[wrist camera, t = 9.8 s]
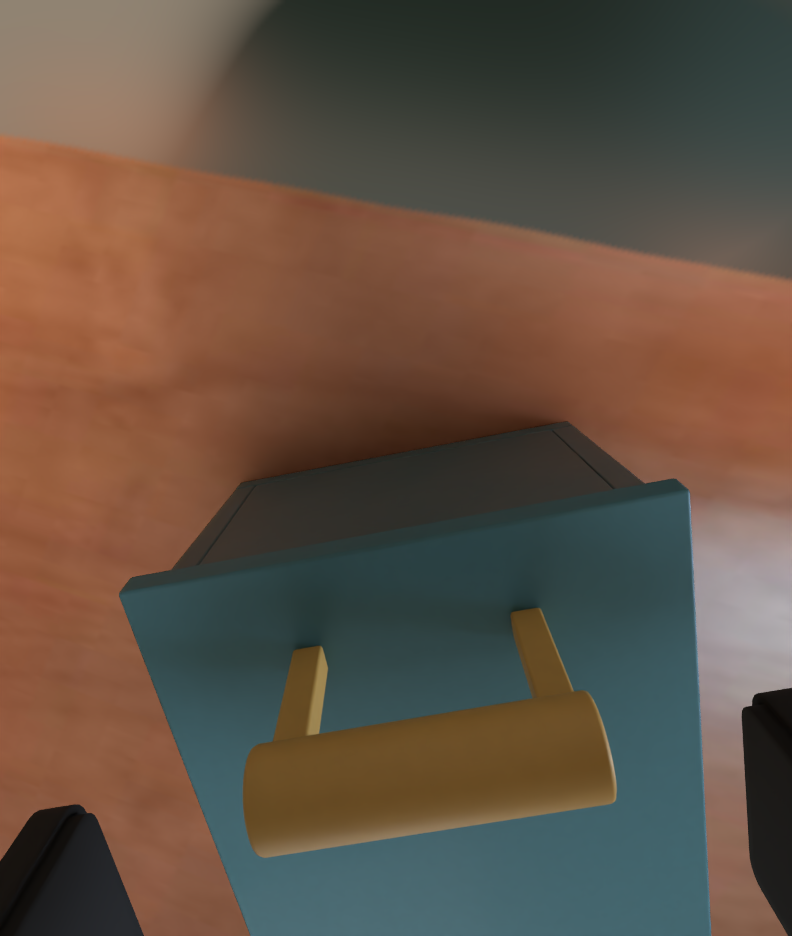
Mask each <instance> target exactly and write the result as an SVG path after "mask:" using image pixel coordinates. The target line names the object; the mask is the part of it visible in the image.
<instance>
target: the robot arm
mask: <svg viewBox="0 0 792 936" xmlns="http://www.w3.org/2000/svg"><path fill="white" fill-rule="evenodd" d="M742 729H743V747H744V764H745V782H746V800H747V817H748V835H749V853H750V861H751V865H752V869H753V872H754V875H755V878H756V880H757V882H758V884H759V886H760V888H761V890H762V892H763V894H764V895H765V897H766V899H767V900H768V902H769V904H770V905H771V907H772V909H773V911H774V912H775V914H776V916H777V917H778V919H779V921H780V922H781V924H782V926H783V928H784V929H785V931H786V933H787V934H788V936H792V688H788V689H782V690H776V691H770V692H764V693H758V694H756V695H754V697H753V700H752V706H749V707H745V708H743V710H742ZM0 936H144V935H143V932H142V930H141V927H140V925H139V922H138V920H137V917H136V915H135V912H134V910H133V907H132V905H131V902H130V900H129V897H128V895H127V892H126V890H125V887H124V885H123V882H122V880H121V877H120V875H119V872H118V870H117V867H116V865H115V862H114V860H113V857H112V855H111V852H110V850H109V847H108V845H107V842H106V840H105V837H104V835H103V832H102V830H101V828H100V825H99V823H98V820H97V818H96V817H95V815H93V814H92V813H87V812H86V811H85V809H84V808H83V807H82V806H80V805H69V806H62V807H56V808H50V809H44V810H39V811H37V812H35V813H34V814H33V815H32V816H31V817H30V818H29V820H28V821H27V823H26V824H25V826H24V827H23V829H22V830H21V832H20V833H19V835H18V836H17V837H16V839H15V840H14V842H13V843H12V845H11V846H10V848H9V849H8V851H7V852H6V854H5V855H4V857H3V858H2V860H1V861H0Z"/></svg>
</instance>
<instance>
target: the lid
mask: <svg viewBox="0 0 792 936" xmlns="http://www.w3.org/2000/svg"><path fill="white" fill-rule="evenodd" d="M119 597H120V600H121V602H122V605H123V607H124V610H125V613H126V615H127V618H128V620H129V623H130V625H131V628H132V631H133V633H134V636H135V638H136V641H137V644H138V646H139V649H140V651H141V654H142V656H143V659H144V662H145V664H146V667H147V669H148V672H149V675H150V677H151V680H152V682H153V685H154V688H155V690H156V693H157V695H158V698H159V700H160V703H161V706H162V708H163V711H164V713H165V716H166V719H167V721H168V724H169V726H170V729H171V731H172V734H173V737H174V739H175V742H176V744H177V747H178V750H179V752H180V755H181V757H182V760H183V762H184V765H185V768H186V770H187V773H188V775H189V778H190V781H191V783H192V786H193V788H194V791H195V793H196V796H197V799H198V801H199V804H200V806H201V809H202V812H203V814H204V817H205V819H206V822H207V824H208V827H209V830H210V832H211V835H212V837H213V840H214V843H215V845H216V848H217V850H218V853H219V856H220V858H221V861H222V863H223V866H224V868H225V871H226V874H227V876H228V879H229V881H230V884H231V887H232V889H233V892H234V894H235V897H236V899H237V902H238V905H239V907H240V910H241V912H242V915H243V918H244V920H245V923H246V925H247V928H248V930H249V933H250V936H711V922H710V901H709V880H708V860H707V839H706V818H705V798H704V777H703V756H702V735H701V715H700V694H699V673H698V653H697V632H696V611H695V591H694V570H693V549H692V528H691V508H690V492H689V490H688V489H687V488H686V487H685V486H684V485H682V484H681V483H680V482H679V481H678V480H677V479H668V480H662V481H657V482H652V483H646V484H641V485H635V486H630V487H624V488H619V489H613V490H608V491H602V492H597V493H591V494H586V495H580V496H575V497H569V498H564V499H558V500H553V501H547V502H542V503H536V504H531V505H525V506H520V507H514V508H509V509H504V510H498V511H493V512H487V513H482V514H476V515H471V516H465V517H460V518H454V519H449V520H443V521H438V522H432V523H427V524H421V525H416V526H410V527H405V528H399V529H394V530H388V531H383V532H377V533H372V534H366V535H361V536H356V537H350V538H345V539H339V540H334V541H328V542H323V543H317V544H312V545H306V546H301V547H295V548H290V549H284V550H279V551H273V552H268V553H262V554H257V555H251V556H246V557H240V558H235V559H229V560H224V561H218V562H213V563H208V564H202V565H197V566H191V567H186V568H180V569H175V570H169V571H164V572H158V573H153V574H147V575H142V576H136V577H132V578H130V579H129V581H128V582H127V583H126V585H125V586H124V587H123V589H122V590H121V591H120V593H119Z"/></svg>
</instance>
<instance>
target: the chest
mask: <svg viewBox="0 0 792 936" xmlns="http://www.w3.org/2000/svg"><path fill="white" fill-rule="evenodd" d="M641 484H645V483H643V482H642V481H641V480H640V479H638V478H637V477H636V476H635V475H634V474H632V473H631V472H630V471H629V470H627V469H626V468H625V467H624V466H622V465H621V464H620V463H619V462H617V461H616V460H615V459H614V458H612V457H611V456H610V455H609V454H607V453H606V452H605V451H604V450H602V449H601V448H600V447H599V446H597V445H596V444H595V443H594V442H592V441H591V440H590V439H589V438H588V437H586V436H585V435H584V434H583V433H581V432H580V431H579V430H578V429H576V428H575V427H574V426H572V425H571V424H570V423H569V422H561V423H556V424H550V425H545V426H540V427H534V428H529V429H524V430H519V431H513V432H508V433H503V434H497V435H492V436H487V437H482V438H476V439H471V440H466V441H460V442H455V443H450V444H444V445H439V446H434V447H429V448H423V449H418V450H413V451H407V452H402V453H397V454H392V455H386V456H381V457H376V458H370V459H365V460H360V461H355V462H349V463H344V464H339V465H333V466H328V467H323V468H317V469H312V470H307V471H302V472H296V473H291V474H286V475H280V476H275V477H270V478H265V479H259V480H254V481H249V482H243V483H241V484H240V485H239V486H238V487H237V488H236V490H235V491H234V492H233V494H232V495H231V496H230V497H229V499H228V500H227V501H226V502H225V504H224V505H223V506H222V507H221V509H220V510H219V511H218V512H217V514H216V515H215V516H214V517H213V519H212V520H211V521H210V522H209V524H208V525H207V526H206V527H205V528H204V530H203V531H202V532H201V533H200V535H199V536H198V537H197V538H196V540H195V541H194V542H193V543H192V545H191V546H190V547H189V548H188V550H187V551H186V552H185V553H184V555H183V556H182V557H181V558H180V559H179V561H178V562H177V563H176V564H175V566H174V567H173V568H172V569H171V570H175V569H180V568H186V567H191V566H197V565H202V564H208V563H213V562H218V561H224V560H229V559H235V558H240V557H246V556H251V555H257V554H262V553H268V552H273V551H279V550H284V549H290V548H295V547H301V546H306V545H312V544H317V543H323V542H328V541H334V540H339V539H345V538H350V537H356V536H361V535H366V534H372V533H377V532H383V531H388V530H394V529H399V528H405V527H410V526H416V525H421V524H427V523H432V522H438V521H443V520H449V519H454V518H460V517H465V516H471V515H476V514H482V513H487V512H493V511H498V510H504V509H509V508H514V507H520V506H525V505H531V504H536V503H542V502H547V501H553V500H558V499H564V498H569V497H575V496H580V495H586V494H591V493H597V492H602V491H608V490H613V489H619V488H624V487H630V486H635V485H641Z"/></svg>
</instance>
